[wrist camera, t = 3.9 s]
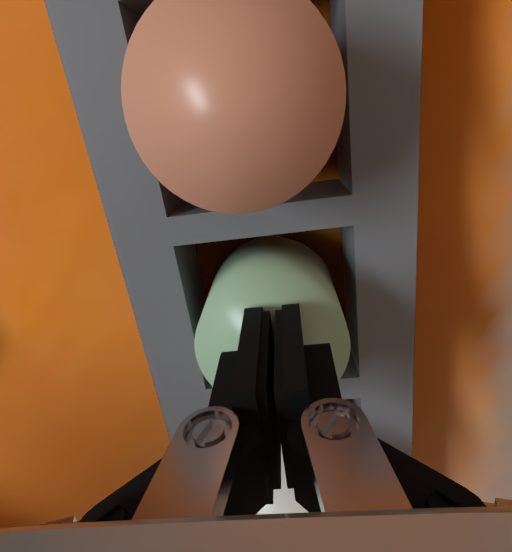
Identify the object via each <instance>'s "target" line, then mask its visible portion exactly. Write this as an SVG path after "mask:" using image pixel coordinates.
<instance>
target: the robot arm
mask: <svg viewBox="0 0 512 552" xmlns="http://www.w3.org/2000/svg"><path fill="white" fill-rule="evenodd" d="M281 447H282V454H283V461H284V468H285V475H286V482H287V488H288V489H293V488H294V494H295V501H296V502H297V503H299V504H300V505H301V506H302V507H303V508H304V509H306V510H307V511H308V512H306V513H282V514H257V513H258V512H259V511H260V510H261V509H262V508H263V507H264V506H265V505H266V504H273V489H281ZM0 552H512V500H507V499H501V498H495V504H493V503H487V502H482V501H481V499H480V498H479V497H478V496H476V495H475V494H473V493H472V492H471V491H469V490H468V489H466V488H465V487H463V486H461V485H459V484H458V483H456V482H454V481H452V480H451V479H449V478H447V477H445V476H444V475H442V474H440V473H438V472H437V471H435V470H433V469H431V468H430V467H428V466H426V465H424V464H423V463H421V462H419V461H417V460H416V459H414V458H412V457H410V456H408V455H407V454H405V453H403V452H401V451H400V450H398V449H396V448H394V447H393V446H391V445H389V444H387V443H386V442H384V441H382V440H380V439H379V438H377V437H376V435H375V433H374V431H373V429H372V427H371V425H370V423H369V421H368V419H367V417H366V415H365V413H364V412H363V411H362V409H361V408H360V407H358V406H357V405H356V404H354V403H353V402H350V401H347V400H345V399H342V397H341V392H340V388H339V383H338V379H337V374H336V369H335V365H334V360H333V355H332V351H331V346H330V343H322V344H310V345H304V344H303V335H302V325H301V316H300V306H299V303H296V304H285V305H282V310H275V338H274V337H273V329H272V322H271V315H270V311H263V307H254V308H245V309H244V314H243V320H242V326H241V332H240V338H239V344H238V350H237V351H227V352H222V353H221V355H220V358H219V362H218V367H217V371H216V375H215V379H214V384H213V388H212V392H211V396H210V401H209V405H208V407H205V408H202V409H198V410H197V411H195V412H193V413H191V414H189V415H188V416H187V417H186V418H185V419H184V420H183V421H182V422H181V424H180V425H179V427H178V428H177V430H176V432H175V434H174V436H173V438H172V440H171V442H170V444H169V446H168V448H167V450H166V452H165V454H164V456H163V458H162V459H160V460H159V461H158V462H156V463H155V464H153V465H152V466H150V467H149V468H148V469H146V470H145V471H143V472H142V473H141V474H139V475H138V476H136V477H135V478H133V479H132V480H131V481H129V482H128V483H126V484H125V485H124V486H122V487H121V488H119V489H118V490H117V491H115V492H114V493H112V494H111V495H109V496H108V497H107V498H105V499H104V500H102V501H101V502H100V503H98V504H97V505H95V506H94V507H93V508H92V509H91V510H90V511H88V512H87V513H86V514H85V515H84V517H83V518H82V519H81V520H79V521H77V520H76V518H75V516H72V517H68V518H64V519H60V520H56V521H53V522H49V523H45V524H41V525H34V526H21V527H10V528H0Z"/></svg>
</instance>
